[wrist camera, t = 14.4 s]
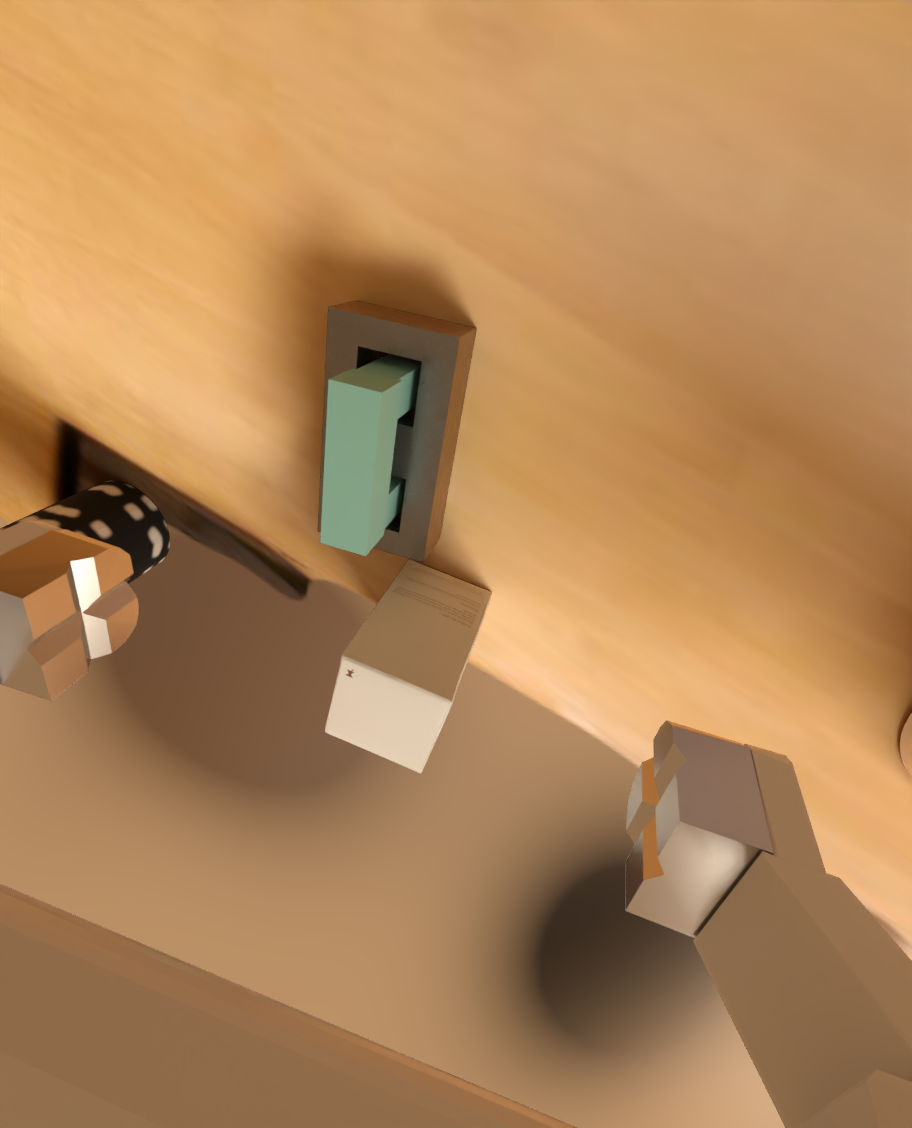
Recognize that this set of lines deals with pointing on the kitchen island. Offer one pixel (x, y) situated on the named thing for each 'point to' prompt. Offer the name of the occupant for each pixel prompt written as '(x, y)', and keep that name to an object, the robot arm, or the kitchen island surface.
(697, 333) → the kitchen island surface
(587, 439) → the kitchen island surface
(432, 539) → the gray socket base
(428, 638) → the supplement box
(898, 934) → the kitchen island surface
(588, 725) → the kitchen island surface
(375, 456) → the green u-shaped block
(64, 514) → the white-spotted black cylinder
